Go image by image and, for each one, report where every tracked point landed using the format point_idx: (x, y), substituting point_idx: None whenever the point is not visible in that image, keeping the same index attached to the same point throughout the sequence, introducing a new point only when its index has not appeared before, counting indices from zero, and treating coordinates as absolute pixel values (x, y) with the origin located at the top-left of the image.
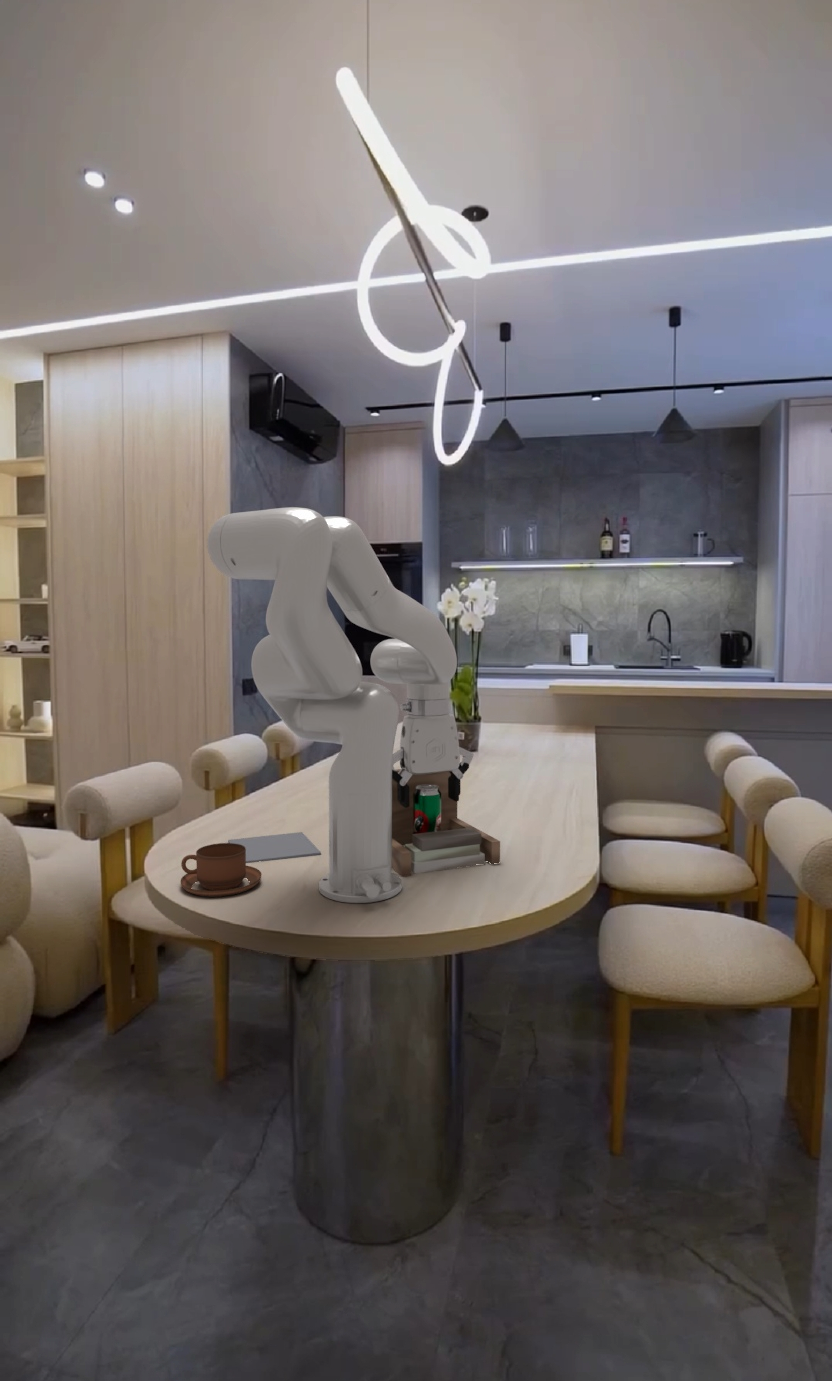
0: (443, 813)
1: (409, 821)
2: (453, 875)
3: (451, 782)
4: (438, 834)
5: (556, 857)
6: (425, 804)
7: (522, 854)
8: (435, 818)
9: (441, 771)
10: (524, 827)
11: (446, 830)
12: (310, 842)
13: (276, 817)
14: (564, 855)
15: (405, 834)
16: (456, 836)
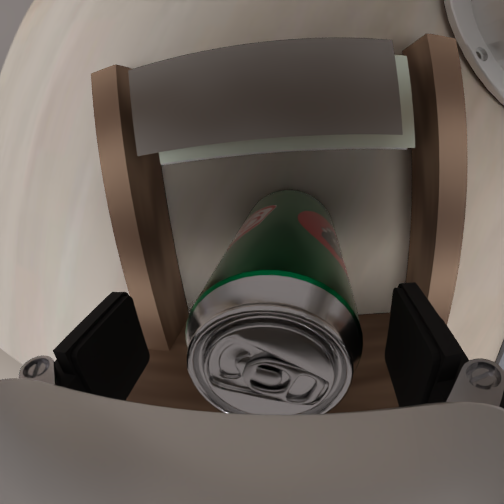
0: (183, 364)
1: None
2: (283, 20)
3: (103, 380)
4: (297, 92)
5: (19, 119)
6: (317, 256)
7: (61, 149)
8: (263, 224)
9: (122, 400)
10: (37, 321)
11: (243, 138)
12: (500, 362)
13: None
14: (7, 130)
15: None
16: (233, 46)
